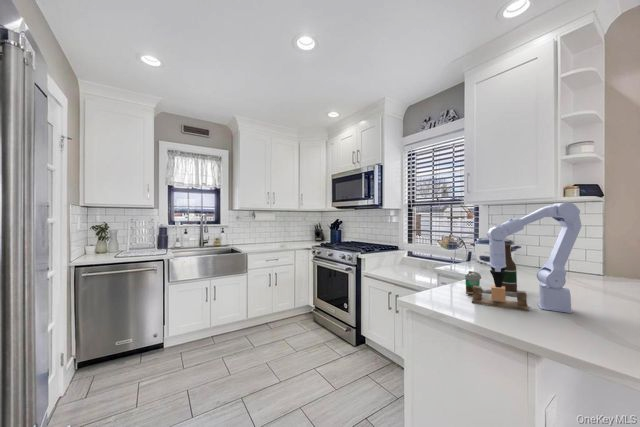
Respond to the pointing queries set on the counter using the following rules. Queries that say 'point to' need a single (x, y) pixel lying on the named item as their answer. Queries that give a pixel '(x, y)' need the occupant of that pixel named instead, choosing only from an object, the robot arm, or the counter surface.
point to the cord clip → (498, 293)
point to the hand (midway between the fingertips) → (498, 285)
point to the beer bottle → (509, 271)
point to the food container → (472, 281)
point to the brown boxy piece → (518, 305)
